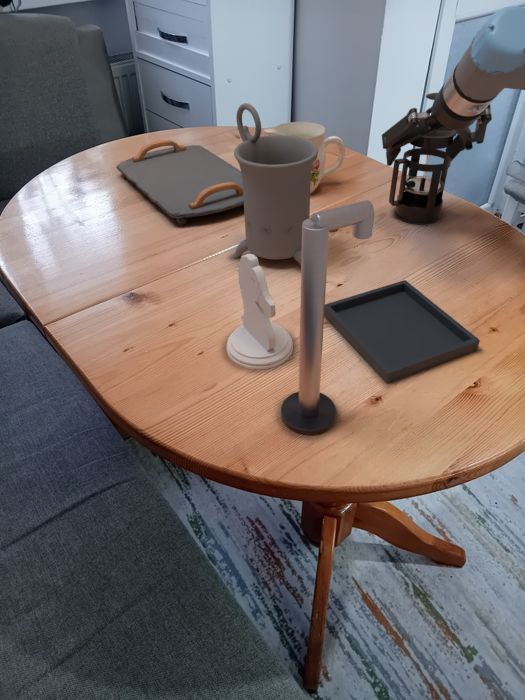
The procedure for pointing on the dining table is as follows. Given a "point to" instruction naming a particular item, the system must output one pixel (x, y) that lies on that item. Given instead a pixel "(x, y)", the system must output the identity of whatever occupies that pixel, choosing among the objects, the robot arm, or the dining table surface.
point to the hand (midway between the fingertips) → (418, 157)
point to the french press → (422, 179)
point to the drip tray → (399, 330)
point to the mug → (273, 190)
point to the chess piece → (257, 323)
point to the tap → (318, 315)
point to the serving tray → (185, 180)
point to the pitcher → (316, 136)
